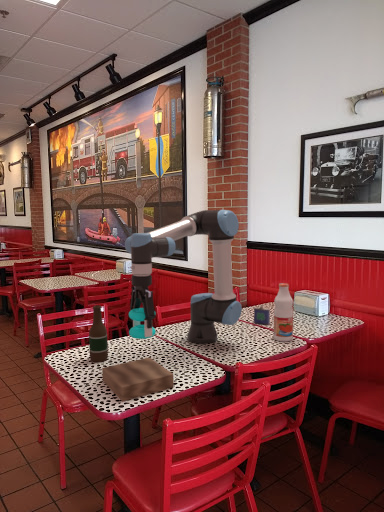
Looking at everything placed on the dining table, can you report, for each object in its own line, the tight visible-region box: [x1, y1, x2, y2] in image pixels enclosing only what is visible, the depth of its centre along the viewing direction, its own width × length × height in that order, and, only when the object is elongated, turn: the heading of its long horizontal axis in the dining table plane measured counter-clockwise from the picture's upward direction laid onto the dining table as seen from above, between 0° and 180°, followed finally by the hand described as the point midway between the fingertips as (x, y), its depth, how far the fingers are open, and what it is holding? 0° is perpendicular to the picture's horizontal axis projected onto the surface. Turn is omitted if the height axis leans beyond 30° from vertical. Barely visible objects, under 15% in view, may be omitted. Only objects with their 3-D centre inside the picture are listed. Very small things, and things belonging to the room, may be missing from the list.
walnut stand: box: [101, 357, 175, 402], centre depth 147 cm, size 20×20×5 cm
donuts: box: [128, 307, 157, 340], centre depth 148 cm, size 10×10×10 cm
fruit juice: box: [273, 282, 294, 342], centre depth 196 cm, size 9×9×28 cm
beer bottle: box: [88, 304, 109, 363], centre depth 171 cm, size 8×8×24 cm
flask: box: [253, 305, 271, 326], centre depth 223 cm, size 9×3×11 cm, turn 61°
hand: (142, 332), depth 149 cm, fingers closed on donuts, 10 cm apart
